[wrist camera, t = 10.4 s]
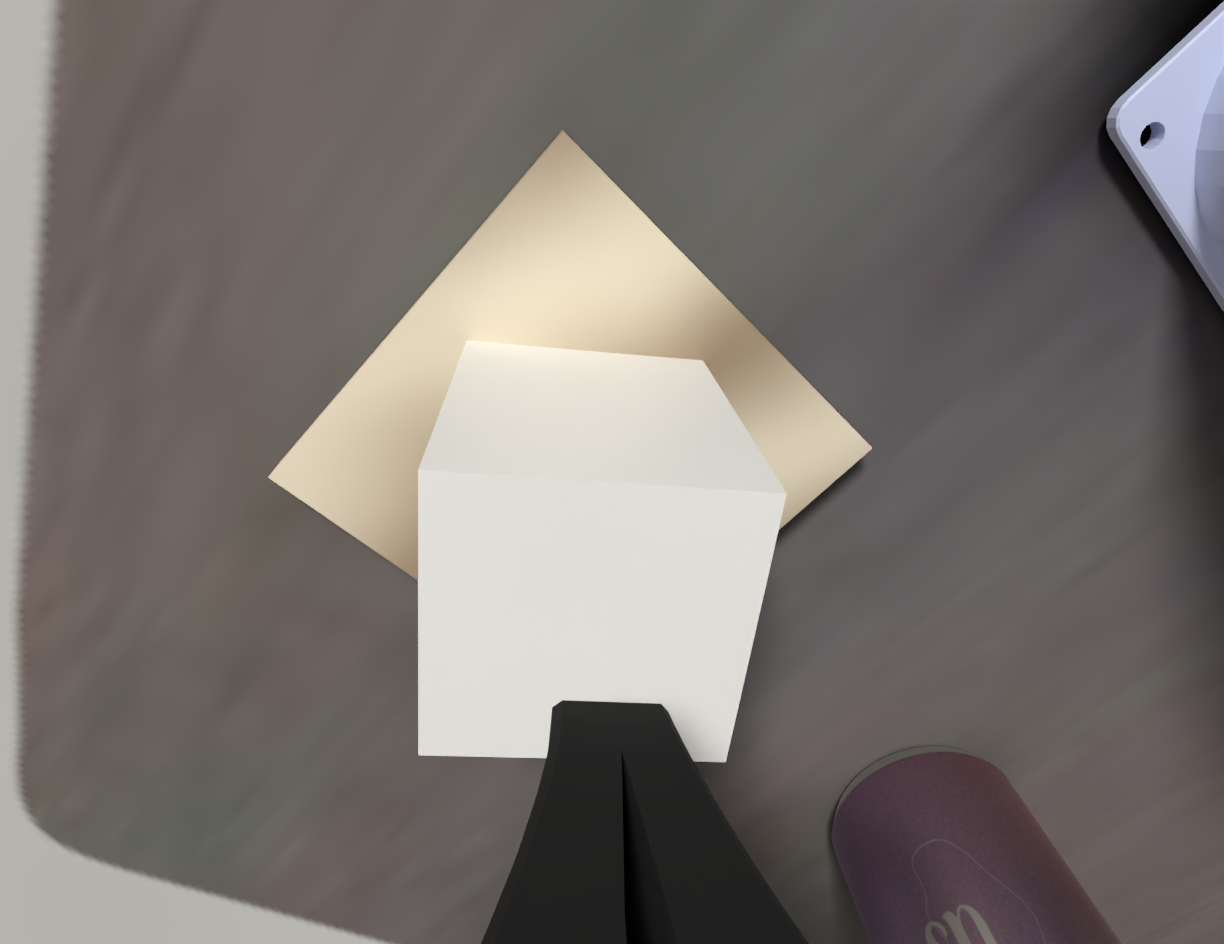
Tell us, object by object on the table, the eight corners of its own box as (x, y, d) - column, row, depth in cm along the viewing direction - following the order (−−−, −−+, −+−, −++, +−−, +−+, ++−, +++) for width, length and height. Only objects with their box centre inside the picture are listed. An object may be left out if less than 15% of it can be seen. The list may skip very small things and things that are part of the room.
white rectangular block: (703, 360, 17) (787, 493, 11) (670, 559, 19) (726, 762, 13) (466, 340, 16) (418, 469, 10) (461, 548, 18) (418, 755, 12)
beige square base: (857, 432, 19) (980, 558, 14) (586, 672, 22) (597, 859, 16) (562, 129, 16) (568, 136, 10) (282, 459, 18) (166, 604, 13)
